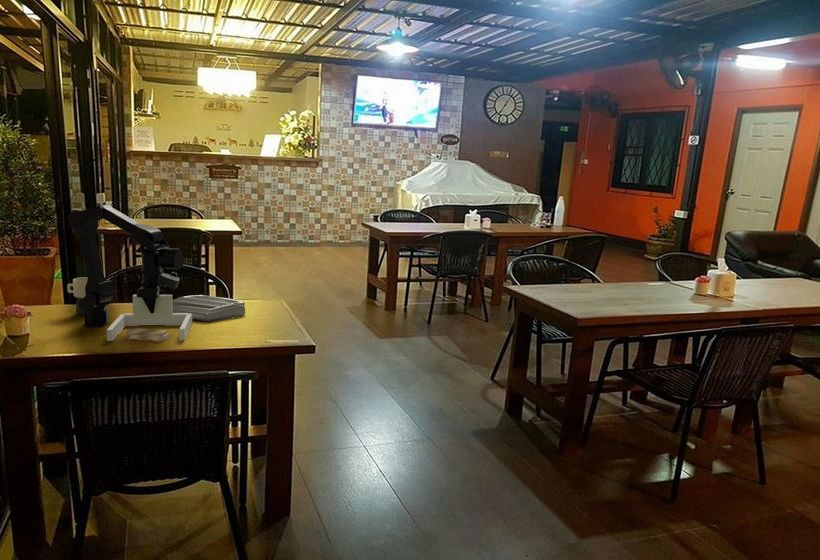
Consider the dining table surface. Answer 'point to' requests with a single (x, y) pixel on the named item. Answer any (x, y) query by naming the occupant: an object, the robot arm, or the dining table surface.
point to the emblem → (208, 307)
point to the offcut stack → (148, 334)
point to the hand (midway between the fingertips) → (152, 312)
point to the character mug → (78, 291)
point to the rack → (128, 320)
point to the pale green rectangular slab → (161, 308)
